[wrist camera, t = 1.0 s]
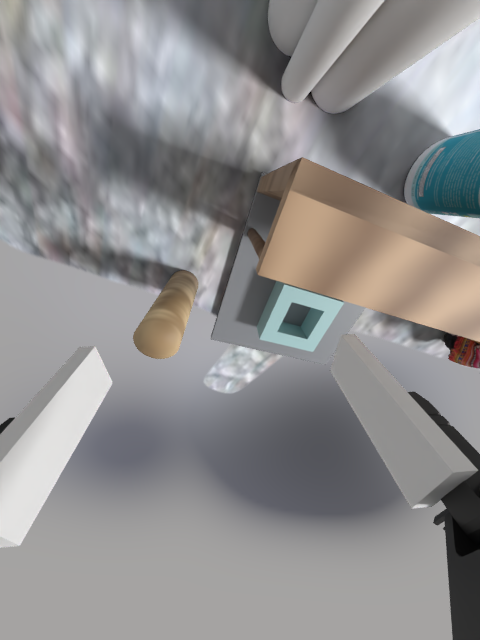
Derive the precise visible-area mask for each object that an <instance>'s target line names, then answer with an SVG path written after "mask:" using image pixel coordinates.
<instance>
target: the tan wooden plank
mask: <svg viewBox="0 0 480 640" xmlns="http://www.w3.org/2000/svg"><path fill="white" fill-rule="evenodd" d="M257 192H259V193H261V194H264V195H266V196H269V197H271V198H274V199H277V200H279V201H281V202H280V204H279V207H278V210H277V213H276V215H275V218H274V221H273V223H272V226H271V229H270V232H269V234H268V237H267V240H266V243H265V241H264V240H263V239H262V237H261V236H260V235H259V234H258V232H257V231H256V230H255V229H254V228H251V229H249V230H248V232H247V235H248V237H249V239H250V241H251V243H252V245H253V247H254V249H255V252H256V254H257V256H258V258H259V262H258V264H257V267H256V271H257V274H258V275H260V276H263V277H266V278H270V279H273V280H276V281H280V282H283V283H286V284H290V285H293V286H296V287H299V288H303V289H306V290H309V291H313V292H316V293H319V294H323V295H326V296H329V297H333V298H336V299H339V300H342V301H346V302H349V303H352V304H356V305H359V306H362V307H366V308H369V309H372V310H376V311H379V312H382V313H385V314H389V315H392V316H395V317H399V318H402V319H405V320H409V321H412V322H415V323H419V324H422V325H425V326H428V327H432V328H435V329H438V330H442V331H445V332H448V333H452V334H455V335H458V336H462V337H465V338H468V339H471V340H475V341H478V342H480V236H478V235H476V234H474V233H471V232H469V231H467V230H465V229H462V228H460V227H458V226H456V225H453V224H451V223H449V222H447V221H444V220H442V219H440V218H438V217H435V216H433V215H431V214H429V213H426V212H424V211H422V210H420V209H417V208H415V207H413V206H411V205H408V204H406V203H404V202H402V201H399V200H397V199H395V198H393V197H390V196H388V195H386V194H384V193H381V192H379V191H377V190H375V189H372V188H370V187H368V186H366V185H364V184H361V183H359V182H357V181H355V180H352V179H350V178H348V177H346V176H343V175H341V174H339V173H337V172H334V171H332V170H330V169H328V168H325V167H323V166H321V165H319V164H316V163H314V162H312V161H310V160H307V159H305V158H303V157H302V158H300V159H297V160H295V161H293V162H291V163H289V164H287V165H285V166H283V167H281V168H279V169H277V170H275V171H273V172H270V173H268V174H266V175H264V176H262V177H261V180H260V183H259V186H258V189H257Z"/></svg>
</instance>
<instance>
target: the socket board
mask: <svg viewBox="0 0 480 640" xmlns="http://www.w3.org/2000/svg"><path fill="white" fill-rule="evenodd" d="M266 174H267V173H265V172H262V173H261V176H260V180H261V177H262V176H264V175H266ZM260 180H259V183H260ZM259 183H258V186H259ZM258 186H257V189H258ZM257 189H256V193H255V196H254V199H253V202H252V205H251V209H250V212H249V215H248V218H247V222H246V225H245V228H244V231H243V235H242V238H241V241H240V244H239V248H238V251H237V254H236V257H235V261H234V264H233V267H232V270H231V274H230V277H229V280H228V283H227V286H226V290H225V293H224V296H223V299H222V303H221V306H220V309H219V312H218V316H217V319H216V322H215V325H214V329H213V332H212V335H211V339H212V340H217V341H221V342H225V343H230V344H234V345H239V346H243V347H247V348H252V349H256V350H261V351H265V352H270V353H274V354H279V355H283V356H288V357H293V358H296V359H301V360H305V361H310V362H314V363H319V364H324V365H326V363H327V362H328V360H329V359H330V358H331V356H332V355H333V354H334V352H335V351H336V349H337V347H338V343H339V340H340V337H341V335H347V334H348V332H349V331H350V329H351V328H352V327H353V325H354V324H355V322H356V321H357V319H358V318H359V317H360V315H361V314H362V312H363V311H364V309H365V308H366V307H362V306H359V305H356V304H352V303H349V302H346V301H342V300H339V299H336V298H333V297H329V296H326V295H323V294H319V293H316V292H313V291H309V290H306V289H303V288H299V287H296V286H293V285H290V284H286V283H283V282H280V281H276V280H273V279H270V278H266V277H263V276H260V275H258V274H257V271H256V267H257V264H258V262H259V258H258V256H257V254H256V252H255V249H254V247H253V245H252V243H251V241H250V239H249V237H248V235H247V232H248V230H249V229H251V228H254V229H255V230H256V231H257V232H258V234H259V235H260V236H261V237H262V239H263V240H264V241H265V243H266V240H267V237H268V234H269V232H270V229H271V226H272V223H273V221H274V218H275V215H276V213H277V210H278V207H279V204H280V202H281V201H279V200H277V199H274V198H271V197H269V196H266V195H264V194H261V193H259V192H257Z"/></svg>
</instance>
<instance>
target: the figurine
mask: <svg viewBox="0 0 480 640" xmlns="http://www.w3.org/2000/svg"><path fill="white" fill-rule="evenodd" d="M444 340H445V345H446V346H447V347H448V348H449V349H450V354H449V358H448V359H449V360H451V361H453V362H456V363H458V364H461V365H465V366H468V367H474V368H480V342H478V341H475V340H471V339H468V338H465V337H462V336H458V335H455V334H452V333H448V332H446V334H445V337H444Z"/></svg>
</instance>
